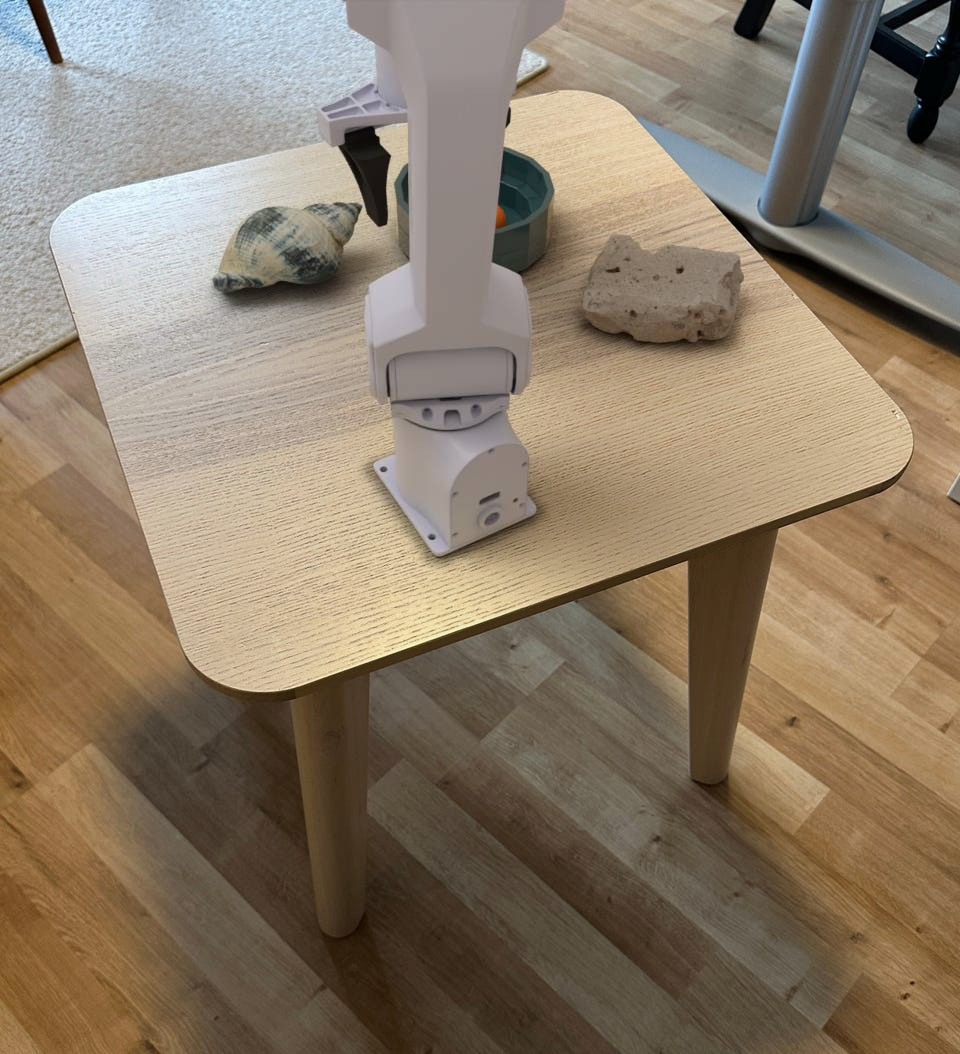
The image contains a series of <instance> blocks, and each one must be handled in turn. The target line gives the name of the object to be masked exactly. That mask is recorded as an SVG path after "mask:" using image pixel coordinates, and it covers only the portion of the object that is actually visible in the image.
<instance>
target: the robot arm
mask: <svg viewBox="0 0 960 1054" xmlns="http://www.w3.org/2000/svg"><path fill="white" fill-rule="evenodd" d="M341 1H342V2H344V3H345V12H346V21H347V26H348V28H349V29H351V30H352V31H354V32H356V33H357V34H359V35H360V36H362V37H364V38H365V39H367V40H369V41H370V42H372V43H373V44H374V56H375V57H374V58H375V71H376V72H375V73H376V78H375V79H373V80H371V81H370V82H367V83H366V84H364V85H363V86H361V87H359V88H357V89H355V90H354V91H352V92H350V93H348V94H346V95H345V96H343V97H341V98H339V99H337V100H335V101H333V102H330V103H328V104H325V105H322V106H318V107H316V115H317V125H318V126H317V127H318V134H319V135H320V137H321V138H322V139H323V140H324V141H325V143H327V144H328V146H329V147H331V148H335V147H337V148H338V149H339V151H340V152H341V155H342V156H343V157H344V159H345V161H346V163H347V165H348V167H349V169H350V171H351V172H352V175H353V177H354V179H355V182H356V184H357V186H358V187H357V188H358V189H359V191H360V194H361V197H362V201H363V204H364V208H365V211H366V215H367V216H368V217H369V218H370V220H372V222H373V223H374V224H375V226H377V227H378V228H382V227H385V226H387V225H388V221H389V207H388V206H389V205H388V194H387V193H388V192H387V188H388V187H387V185H388V184H387V183H388V174H389V167H390V163H391V159H392V154H391V153H390V152H389V151H388V150H387V149H386V148H385V147H384V146H383V145H382V144H381V137H380V136H379V135H377V133H376V130H377V129H381V128H384V127H388V126H391V125H394V124H395V125H397V124H407V160H408V161H407V163H408V181H409V240H410V258H409V261H408V262H407V263H405V264H404V265H402V266H400V267H398V268H395V269H394V270H392V271H390V272H388V273H386V274H384V275H382V276H381V277H379V278H377V279H375V280H373V281H372V282H371V283H369V284H368V293H367V294H366V295H365V296H364V304H365V308H364V309H363V318H364V331H365V333H364V334H365V345H366V357H367V371H368V383H369V394H370V396H371V397H372V398H373V399H375V400H377V403H378V404H379V405H386V404H387V405H388V403H389V402H390V415H391V418H392V433H393V434H392V435H393V450H394V453H393V454H390V455H388V456H385V457H383V458H380V459H378V460H376V461H375V462H374V463H373V471H374V472H375V474H376V475H377V476H378V478H379V480H380V481H381V482H382V484H383V485H384V487H386V490H387V491H388V492H389V494H390V496H392V498H393V500H394V501H395V502H396V503H397V505H398V506H399V508H400V509H401V511H402V513H404V515H405V516H406V518H407V519H408V520H409V522H410V523H411V525H412V526H413V528H414V529H415V531H416V532H417V533H418V534H419V536H420V537H421V539H422V541H423V542H424V543H425V545H426V546H427V548H428V549H429V551H430V552H431V553H432V554H433V555H434V556H436V557H444V556H445V555H448V554H450V553H452V552H455V551H457V550H459V549H462V548H464V547H465V546H468V545H470V544H472V543H475V542H477V541H479V540H481V539H483V538H486V537H489V536H490V535H493V534H494V533H497V532H499V531H501V530H504V529H506V528H508V527H510V526H513V525H515V524H517V523H520V522H521V521H524V520H526V519H529V518H530V517H533V516H534V515H536V514H537V505H536V504H535V502H534V501H533V500H532V499H531V497H530V496H529V495H528V490H529V489H528V488H529V477H530V476H529V475H530V455H529V451H528V449H527V448H526V446H525V445H524V443H523V442H522V440H521V439H520V437H518V435H517V433H516V432H515V430H514V428H513V426H512V424H511V421H510V419H509V416H508V412H507V411H509V410H510V402H511V401H510V400H511V395H513V396H520V395H522V394H523V393H524V391H525V389H526V388H527V387H528V386H529V385H530V383H531V379H532V372H533V371H532V370H533V344H532V343H533V341H532V340H533V323H532V314H531V306H530V300H529V299H530V298H529V293H528V288H527V287H526V286H525V285H524V283H523V278H522V276H521V275H520V274H519V273H518V272H516V273H515V272H513V271H511V270H509V269H506V268H504V267H502V266H499V265H497V264H495V263H492V253H493V243H494V234H495V224H496V215H497V205H498V195H499V186H500V176H501V167H502V157H503V147H505V136H506V129H507V128H508V126H510V124H511V119H512V108H511V107H510V104H511V100H512V95H516V94H517V79H518V72H519V68H520V65H521V60H522V56H523V52H524V50H525V48H526V47H527V46H528V45H529V44H531V43H532V42H533V41H535V40H536V39H537V38H539V37H540V36H541V35H543V34H544V33H546V32H547V31H549V30H550V29H551V28H552V27H553V26H555V25H556V24H558V23H559V22H561V20H562V19H563V18H564V13H565V6H566V0H341ZM388 400H389V401H388Z"/></svg>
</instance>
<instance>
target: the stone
mask: <svg viewBox="0 0 960 1054" xmlns="http://www.w3.org/2000/svg"><path fill="white" fill-rule="evenodd" d="M741 265H742V264H741V256H740V255H738V253H735V252H729V251H726V252H725V251H720V250H713V249H705V248H700V247H695V246H686V245H683V246H682V245H675V244H666V245H664V246H663V247H661V248H659V249H658V250H657V251H656V252H655V253H654V252H653V253H651V252H650V251H649V250H648V249H643V248H641V246H640V242H638V241H634V239H633V238H632V235H627V234H620V233H613V234H610V236H609V238H608V240H607V241H606V243H605V245H604V247H603V249H602V250H601V251H600V252H599V253H598V255H597V256H596V258H595V260H594V262H593V264H592V266H591V267H590V270H589V275H588V284H587V288H586V289H585V290H584V291H583V295H582V298H581V299H580V302H579V306H578V310H579V311H580V312H581V314H582V316H583V317H584V318H585V319H587V321H588V322H590V324H591V325H592V326H593V327H595V328H596V329H598V330H600V331H602V332H605V333H609V334H619V333H627V334H629V335H630V336H632V338H633V339H634V340H636V341H640V342H651V343H668V342H673V343H675V342H677V341H680V340H682V339H683V340H684V339H686V340H687V341H688V342H690V343H697V341H698V340H707V341H712V340H714V341H715V340H721V339H724V338H725V337H727V336H728V335H729V334H730V333H731V332H732V326H733V324H734V320H735V317H736V313H737V310H738V309H737V308H738V302H739V297H740V292H741V288H742V287H741V284H742V283H743V282H744V279H745V275H744V273H743V269H742V267H741Z"/></svg>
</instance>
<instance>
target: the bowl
mask: <svg viewBox="0 0 960 1054" xmlns="http://www.w3.org/2000/svg"><path fill="white" fill-rule="evenodd" d="M401 167H402V168H401V169H400V171H399V173H398V175H397V177H396V178H395V180H394V182H393V193H394V195H393V197H394V213H395V229H396V237H397V243H398V247H399V248H400V249H401V251H402V252H403V253H404V254H405V255H406V256H407V258H409V259H410V240H409V181H408V162H407V163H405V164H404V165H402V166H401ZM555 192H556V190H555V186H554V184H553V180H552V177H551V174H550V172H549V171H548V170H547V169H546V168H544V167H543V166H542V165H541V164H540V163H539V162H538V161H537V160H535V159H534V157H532V156H530V155H527V154H524V153H522V152H520V151H518V150H515V149H513V148H511V147H508V146H504V147H503V157H502V167H501V176H500V186H499V195H498V206H499V207H500V208H501V209H502V210H503V212H504V213H505V216H506V226H505V227H502V228H499V229H495V234H494V243H493V253H492V263H495V264H497V265H499V266H502V267H504V268H506V269H509V270H511V271H513V272H515V273H518V272H521V271H524V270H526V269H528V268H529V267H530V266H532V265H533V264H534V263H535V262H537V260H539V259H540V258H541V257H542V256H543V255H545V254H546V251H547V249H548V245H549V244H550V243H549V242H550V241H551V237H552V229H553V219H554V218H553V217H554V207H555V205H554V204H555Z"/></svg>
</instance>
